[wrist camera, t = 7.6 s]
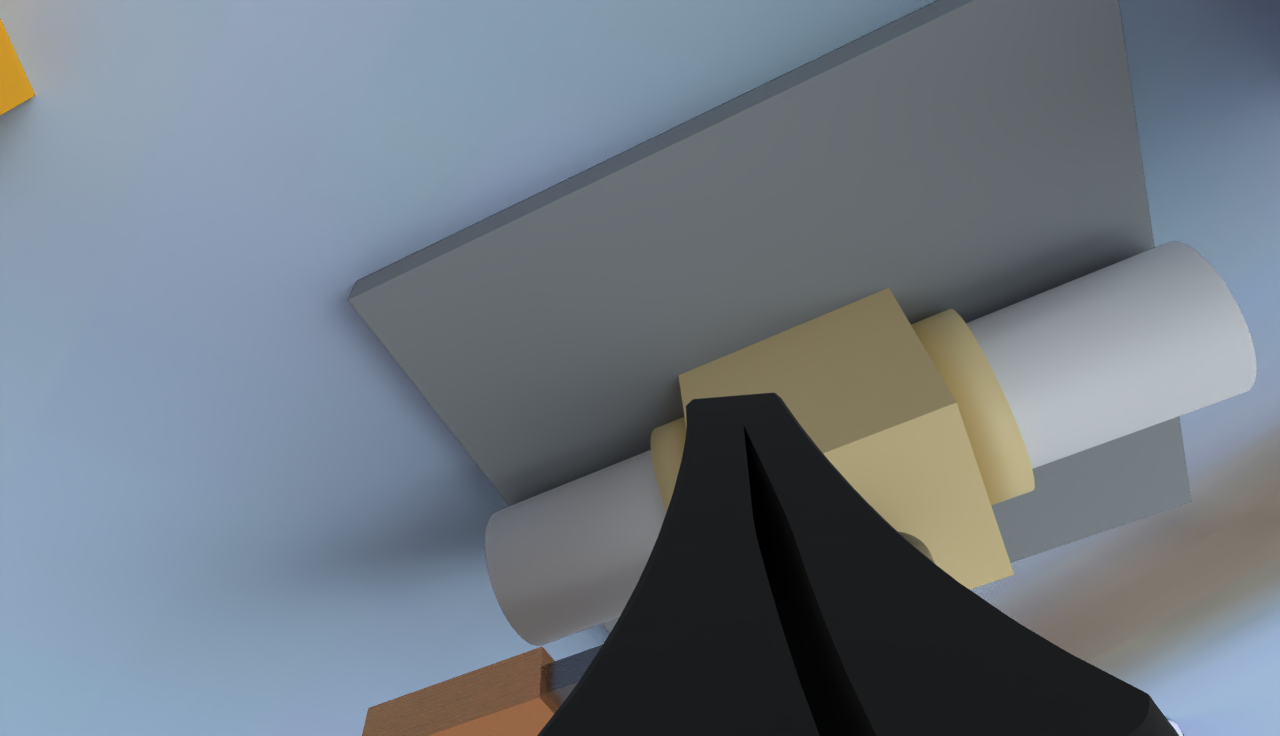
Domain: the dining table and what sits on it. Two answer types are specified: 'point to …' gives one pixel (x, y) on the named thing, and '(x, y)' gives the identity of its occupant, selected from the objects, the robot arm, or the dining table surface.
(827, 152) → the valve base
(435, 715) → the valve lever
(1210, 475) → the dining table surface
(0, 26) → the pipe clamp
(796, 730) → the robot arm
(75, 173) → the dining table surface
